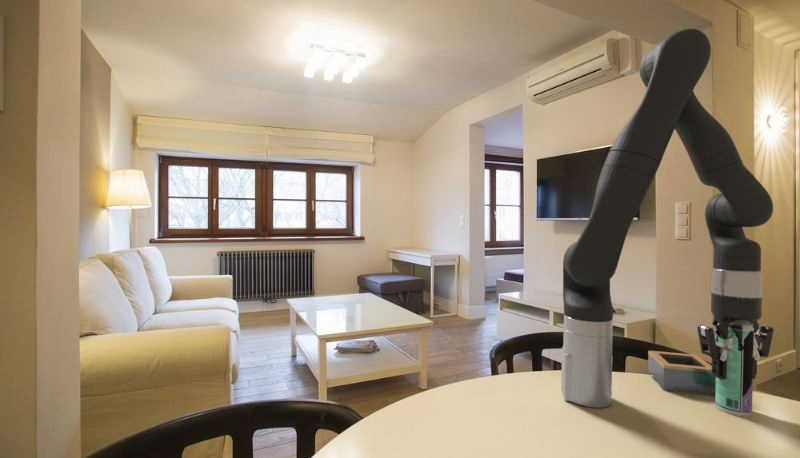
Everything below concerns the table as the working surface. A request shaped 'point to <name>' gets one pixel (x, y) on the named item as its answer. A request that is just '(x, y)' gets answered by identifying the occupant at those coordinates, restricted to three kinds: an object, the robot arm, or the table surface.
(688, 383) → the grey open box
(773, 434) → the table surface
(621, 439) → the table surface
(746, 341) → the spray can
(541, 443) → the table surface
